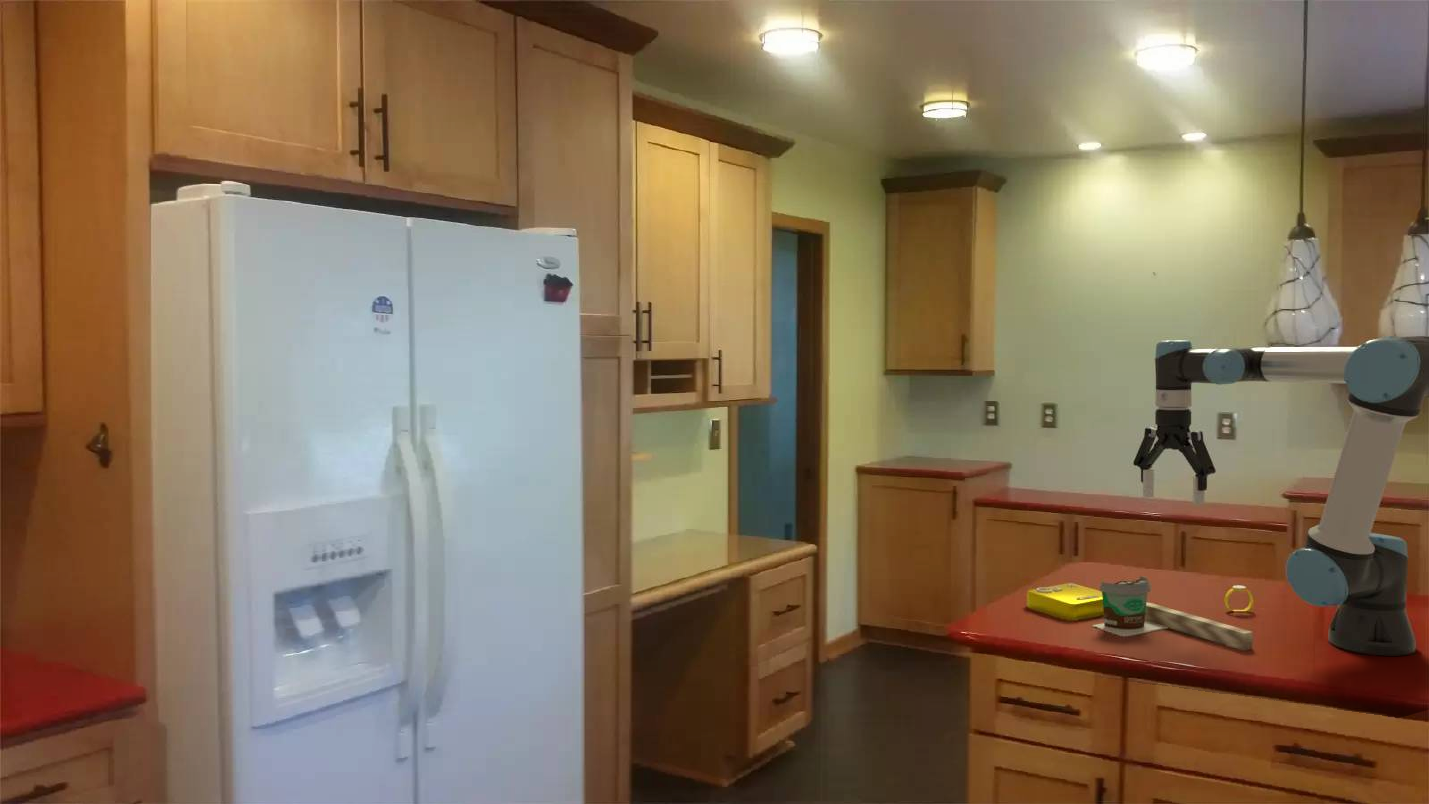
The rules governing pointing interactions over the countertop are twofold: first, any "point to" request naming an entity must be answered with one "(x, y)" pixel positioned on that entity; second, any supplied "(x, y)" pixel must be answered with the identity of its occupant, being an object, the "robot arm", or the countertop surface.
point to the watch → (1239, 588)
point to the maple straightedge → (1199, 627)
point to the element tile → (1066, 601)
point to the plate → (1129, 632)
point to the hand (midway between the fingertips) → (1172, 501)
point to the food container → (1125, 603)
